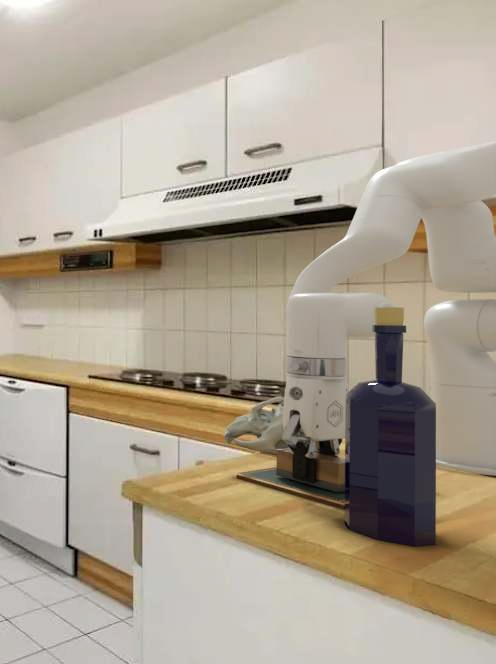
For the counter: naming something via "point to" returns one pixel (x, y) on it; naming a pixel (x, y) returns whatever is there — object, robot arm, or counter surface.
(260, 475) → the chalkboard
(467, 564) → the counter surface
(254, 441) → the animal skull
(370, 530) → the bottle
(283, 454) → the eraser
